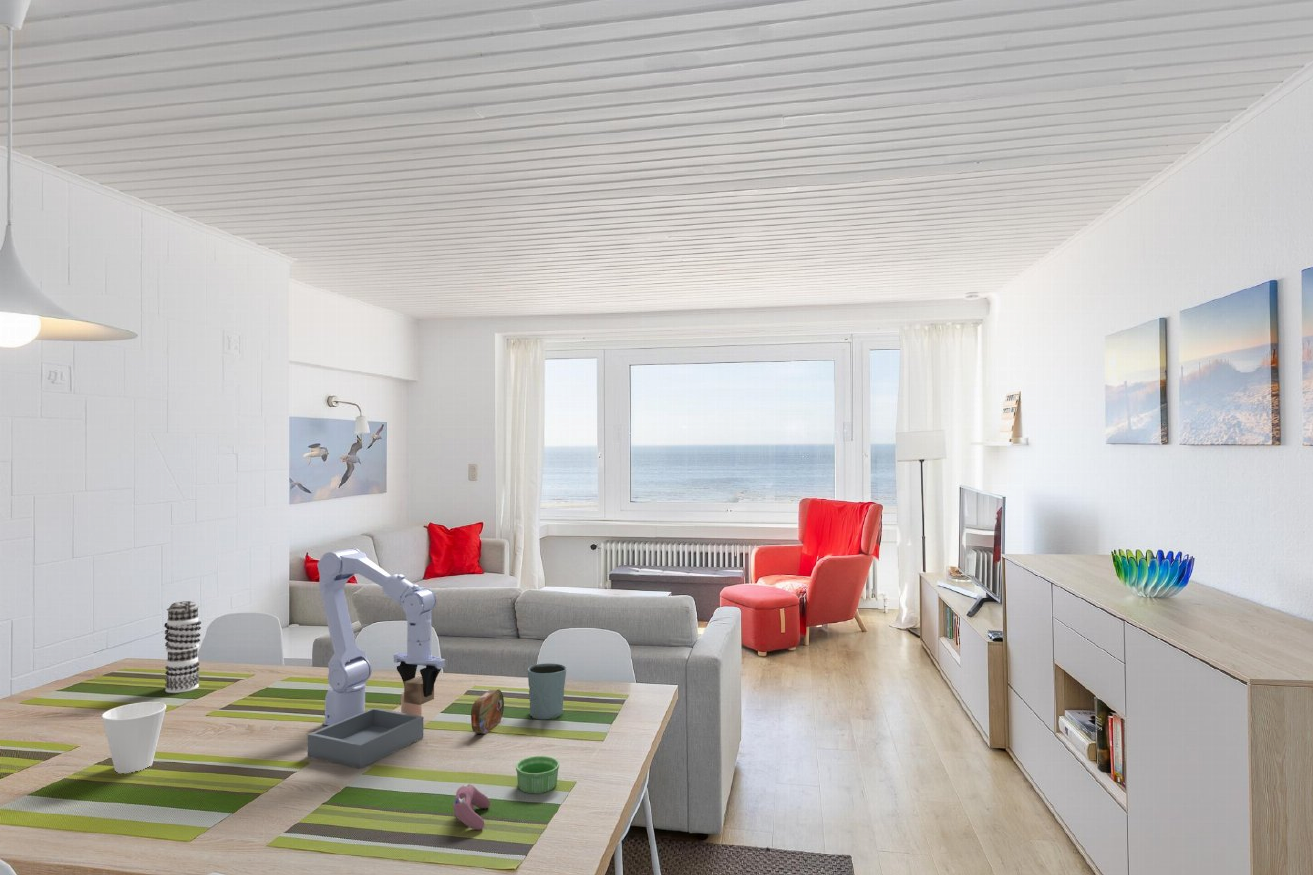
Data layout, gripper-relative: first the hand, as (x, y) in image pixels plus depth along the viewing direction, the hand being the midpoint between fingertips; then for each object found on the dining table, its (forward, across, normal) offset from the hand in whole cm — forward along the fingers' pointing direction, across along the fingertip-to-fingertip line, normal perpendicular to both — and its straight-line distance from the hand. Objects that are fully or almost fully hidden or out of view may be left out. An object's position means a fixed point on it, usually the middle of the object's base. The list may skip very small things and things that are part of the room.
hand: (418, 694), depth 189 cm
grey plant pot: (+10, +22, +25) cm, 34 cm away
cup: (+10, -43, -42) cm, 61 cm away
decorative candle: (+10, -88, 0) cm, 88 cm away
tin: (+10, +14, +10) cm, 19 cm away
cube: (+2, 0, 0) cm, 2 cm away
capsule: (+9, -8, +6) cm, 13 cm away
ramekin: (+10, +43, -14) cm, 46 cm away
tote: (+9, -5, -12) cm, 16 cm away
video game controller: (+10, +40, -31) cm, 51 cm away
